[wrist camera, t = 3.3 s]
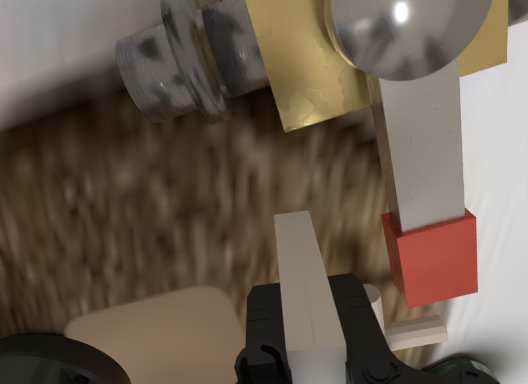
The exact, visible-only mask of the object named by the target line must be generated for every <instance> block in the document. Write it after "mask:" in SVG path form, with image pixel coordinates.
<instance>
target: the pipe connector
mask: <svg viewBox="0 0 528 384" xmlns="http://www.w3.org/2000/svg"><path fill="white" fill-rule="evenodd" d="M363 286H364V288H365V290H366V293H367V296H368V298H369V300H370V303H371V305H372V308H373V310H374V312H375V315H376V317H377V320H378V322H379V324H380V327H381V329H382V332H383V334H384V337H385V339H386V341H387V344H388V346H389V348H390V350H391V352H392V351H394V350H400V349H405V348H411V347H416V346H422V345H427V344H432V343H438V342H443V341H447V340H448V333H447V330H446V327H445V324H444V322H443V321H442V319H441V318H440V316H439V315H432V316H427V317H422V318H417V319H411V320H406V321H401V322H396V323H390V324H385V325H384V321H383V313H382V304H381V296H380V290H379V289H378V288H377V287H376V286H374V285H371V284H363Z"/></svg>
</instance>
